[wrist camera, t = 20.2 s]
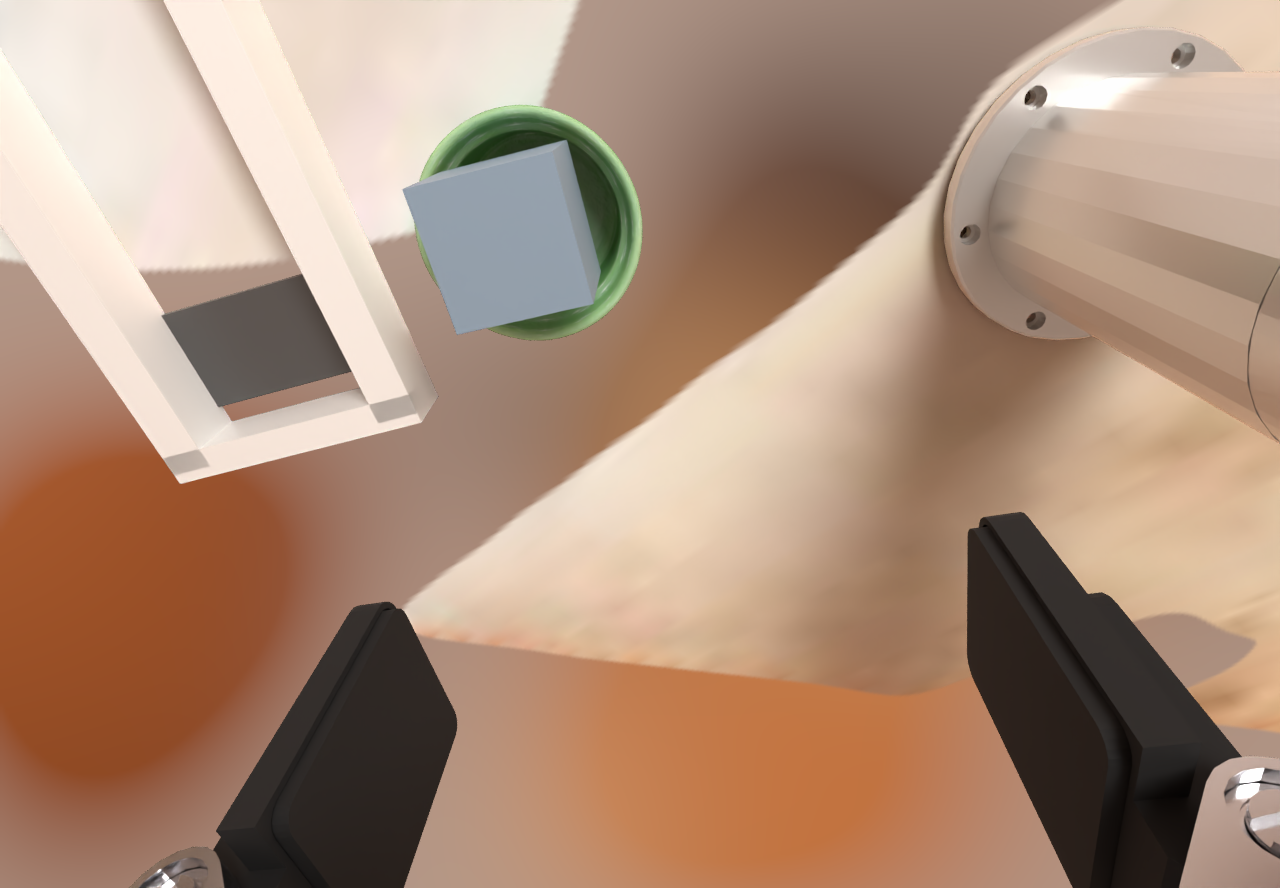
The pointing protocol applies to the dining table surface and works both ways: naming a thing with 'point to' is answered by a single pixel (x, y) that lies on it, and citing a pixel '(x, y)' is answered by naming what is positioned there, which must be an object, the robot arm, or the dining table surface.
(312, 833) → the robot arm
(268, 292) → the channel
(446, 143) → the ramekin
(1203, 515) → the dining table surface
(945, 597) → the dining table surface
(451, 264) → the block
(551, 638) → the dining table surface
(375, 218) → the dining table surface
